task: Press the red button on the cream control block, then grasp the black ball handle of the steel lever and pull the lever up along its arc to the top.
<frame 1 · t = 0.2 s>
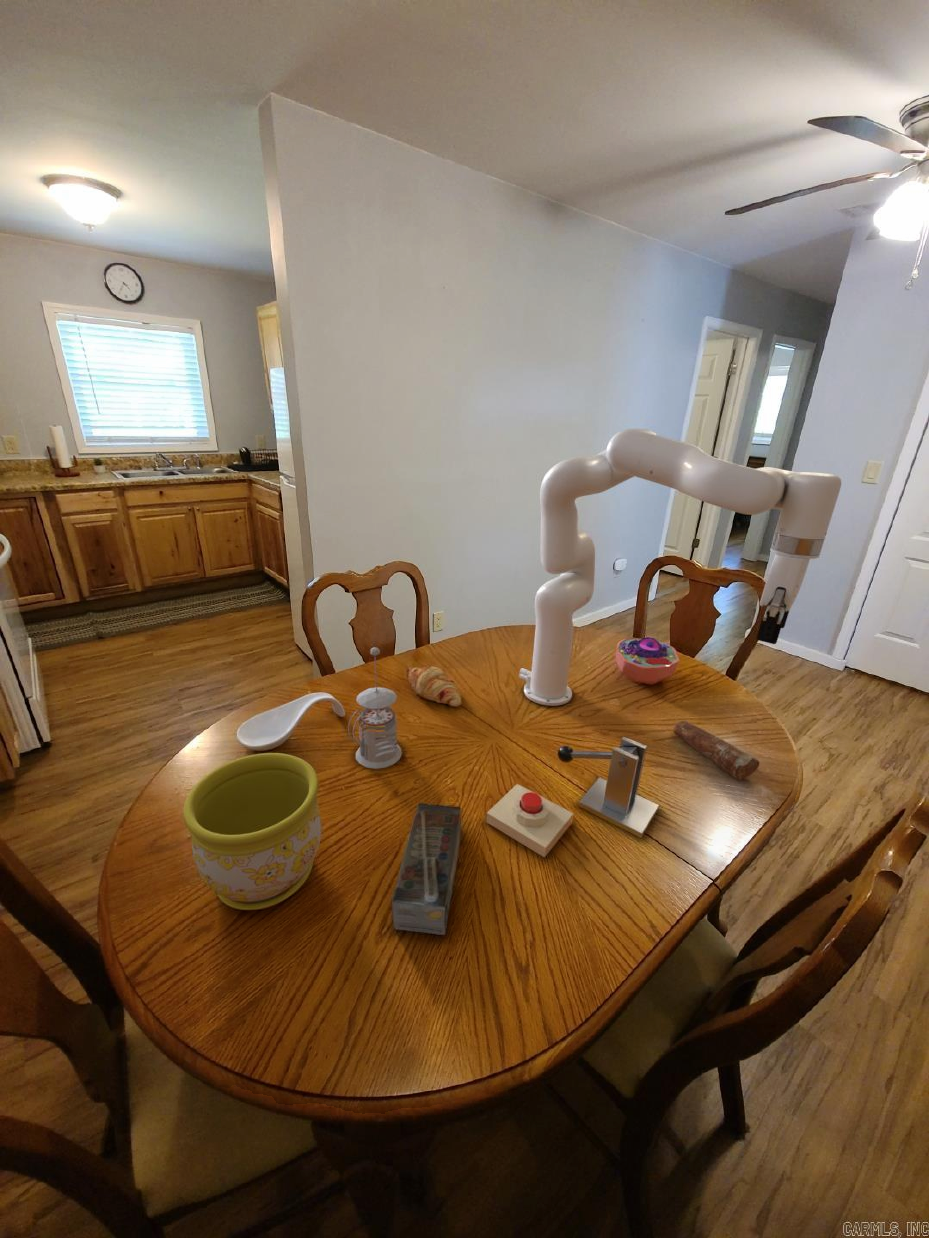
hand: (770, 633, 95), 31 cm above the table, tool pointing down, fingers open, 9 cm apart
croissant: (432, 693, 130), on the table
grey printed box: (430, 878, 79), on the table
cell model: (642, 678, 142), on the table
french press: (375, 756, 106), on the table
flowerpot: (266, 874, 78), on the table
salami: (707, 757, 110), on the table
lever: (595, 754, 94), point 9 cm above the table, hinge at -25.0°
button: (531, 803, 88), point 4 cm above the table, slide at 0.1 cm
bracket: (618, 808, 94), on the table
spoon rest: (293, 732, 113), on the table
button block: (529, 822, 90), on the table
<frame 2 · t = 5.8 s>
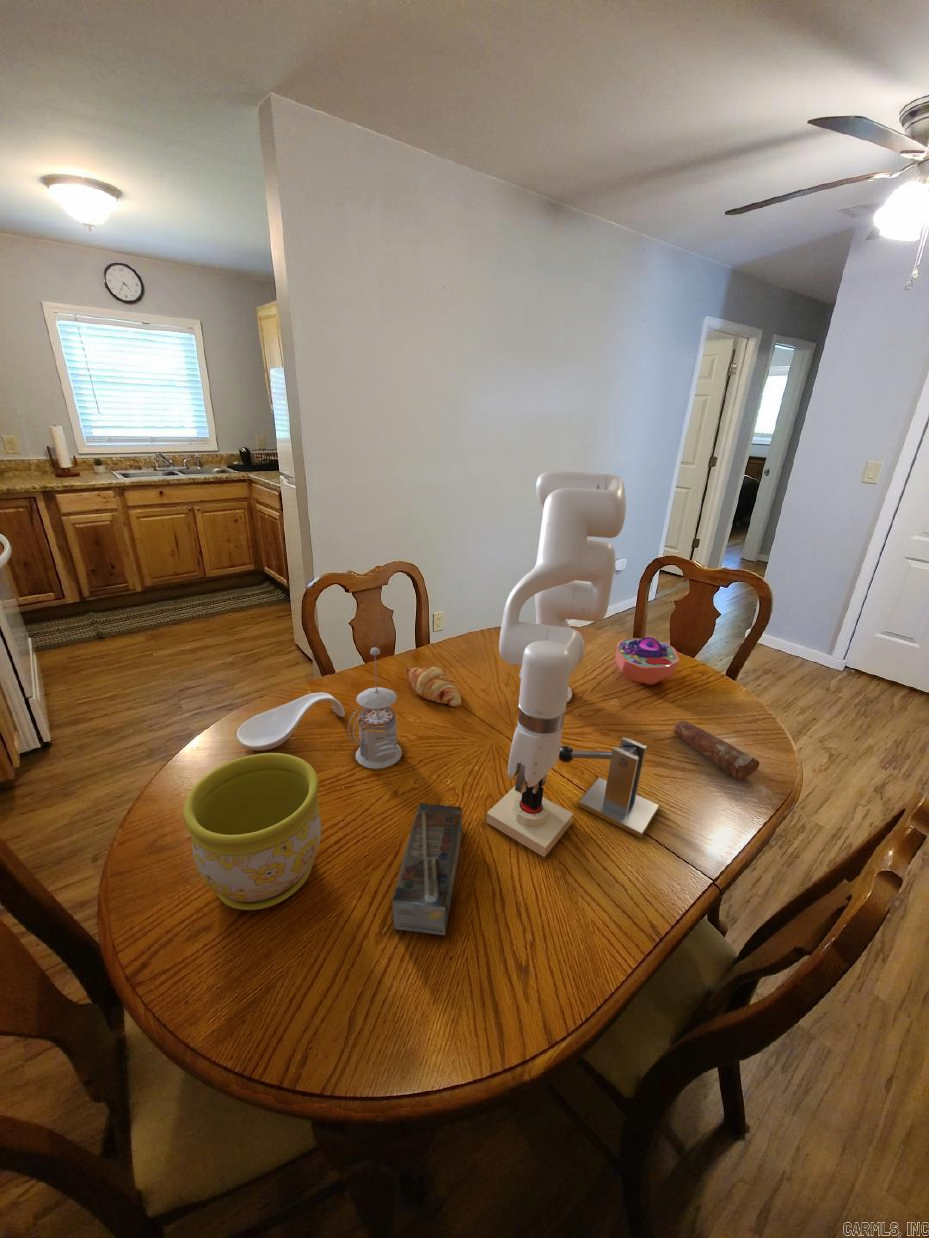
hand: (531, 804, 88), 4 cm above the table, tool pointing down, fingers closed
button: (530, 807, 89), point 3 cm above the table, slide at -0.9 cm, touching gripper
everything else where it was.
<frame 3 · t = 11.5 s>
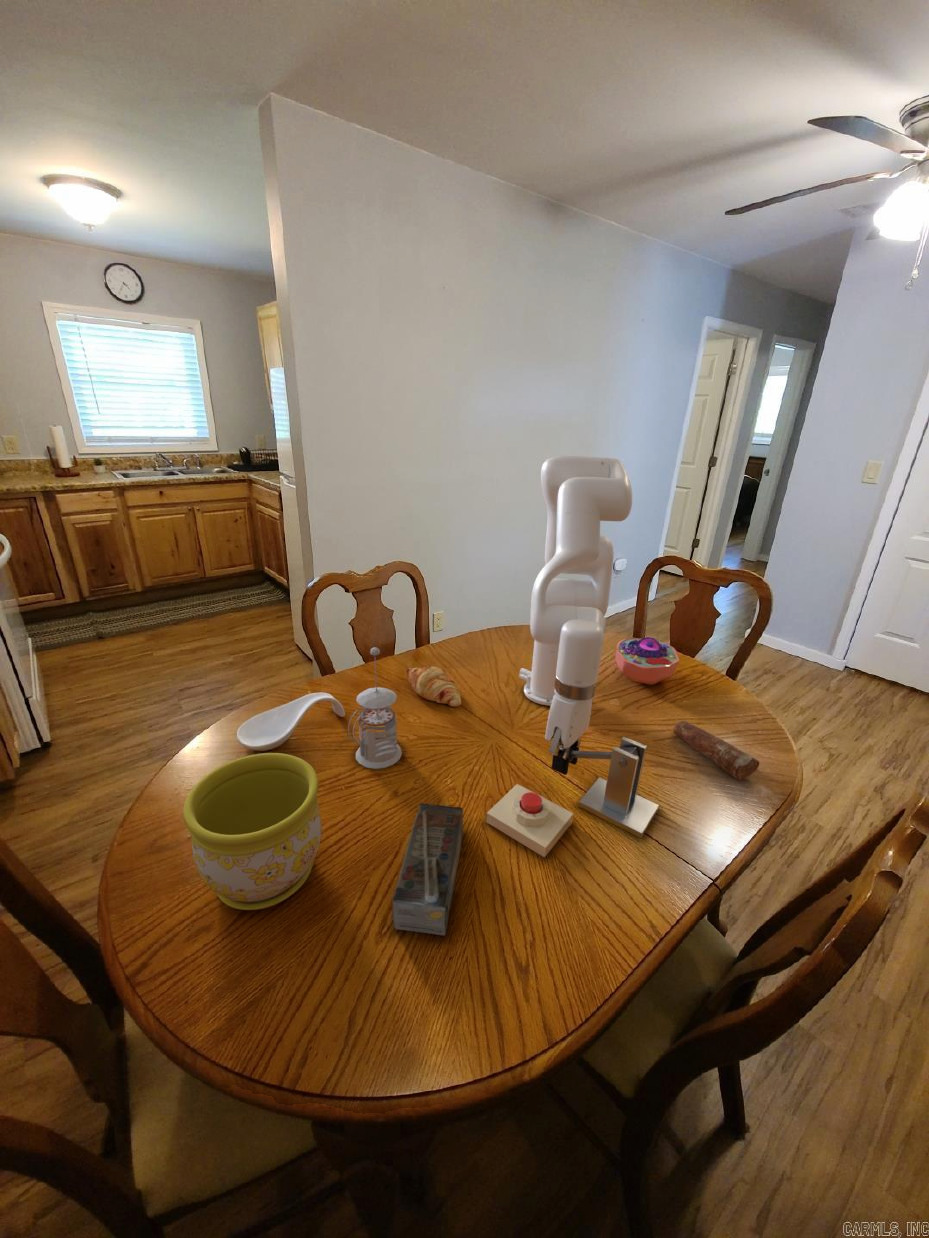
hand: (564, 765, 99), 4 cm above the table, tool pointing down, fingers closed on lever, 3 cm apart
lever: (595, 754, 94), point 9 cm above the table, hinge at -25.0°, touching gripper
button: (531, 803, 88), point 4 cm above the table, slide at 0.1 cm
everything else where it was.
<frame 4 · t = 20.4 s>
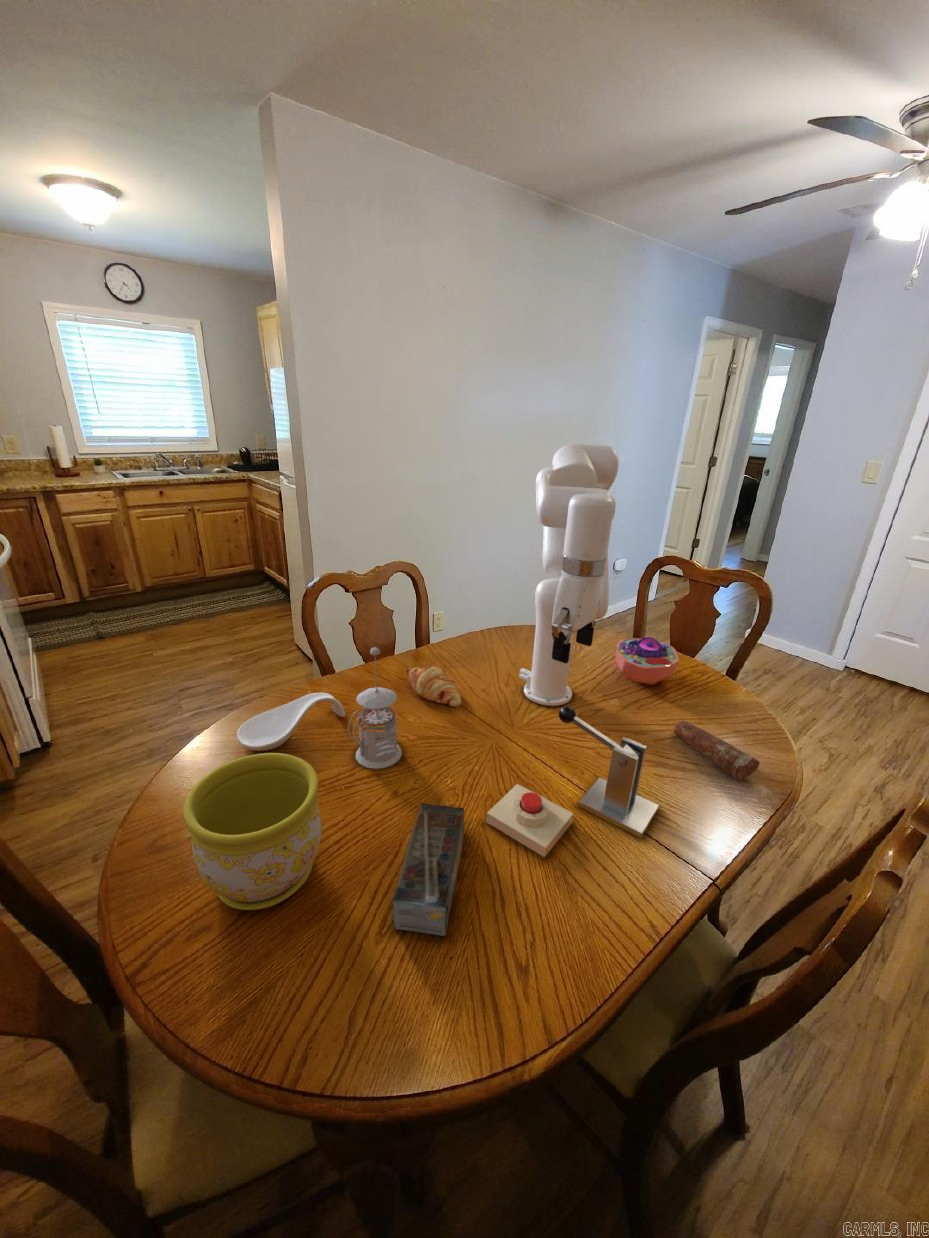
hand: (572, 652, 95), 26 cm above the table, tool pointing down, fingers open, 9 cm apart
lever: (596, 734, 92), point 14 cm above the table, hinge at 14.4°
everything else where it was.
at the end: button pushed in 1.1 cm at the most during the clip, back to where it started at the end; button slide at 0.1 cm; lever reached +30° during the clip, +14° at the end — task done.
